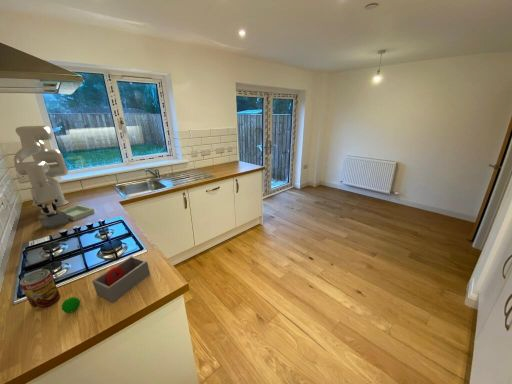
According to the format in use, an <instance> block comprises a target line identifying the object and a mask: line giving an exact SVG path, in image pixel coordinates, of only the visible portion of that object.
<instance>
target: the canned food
mask: <svg viewBox="0 0 512 384" xmlns="http://www.w3.org/2000/svg"><path fill="white" fill-rule="evenodd" d="M19 285H20V287H21V289H22V292H23V293H24V296H25V297H26V299H27V301H28V304H30V307H31V309H32V311H35V312H40V311H44V310H46V309H49V308H51V307H52V306H54V305H55V304H57V303H58V302H59V301H60V300H61V298H62V297H61V293H60V291H59V289H58V287H57V285H56V282H55V280H54V278H53V275H52V273H51V271H50V270H49V269H44V268H43V269H39V270H35V271H33V272H31V273H29V274H27V275H25V276H24V277H22V279H20V280H19Z"/></svg>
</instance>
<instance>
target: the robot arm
mask: <svg viewBox="0 0 512 384" xmlns="http://www.w3.org/2000/svg"><path fill="white" fill-rule="evenodd" d="M15 133H16V134H17V136H18V137H19V140H20V144H21V148H20V149H19V150H18V151H17V152H16V153H15V155H14V157H13V162H14V163H13V165H14V169H15V171H16V173H17V174H18V175H21V176H27V178H28V180H29V183H30V185H31V187H30V195H31V198H32V203H31V206H33V207H39V208H40V207H42V209H43V212H45V213H49V212H48V210H47V207H45V204H44V203H45V202H49V201H52V205H53V208H54V210H55V211H57V209H58V208H60V207H62V206H65V205H67V204H69V200H66V198H65V196H64V195H65V194H64V192H63V190H62V187H61V184H60V182H59V181H58V179H56V178H58V177H63V176H66V175H68V172H69V171H68V168H67V165H66V161H65V159H64V156H63V153H62V152H61V151H60V150H59V149H53V148H52V149H48V148H47V147H46V144H45V142H44V141H50V140H51V139H52V138H53V132H52V129H51V127H50V126H48V125H26V126H24V125H23V126H18V127H16V128H15ZM29 157H32V158H33V161H25V160H26V159H27V158H29ZM52 163H53V164H52ZM55 177H56V178H55ZM39 204H40V205H39Z"/></svg>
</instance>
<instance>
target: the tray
mask: <svg viewBox="0 0 512 384" xmlns="http://www.w3.org/2000/svg"><path fill="white" fill-rule="evenodd" d="M60 211H61V212H64V213H66V215H67V218H68V220H72V221H77V220H79V219H82V218H85V217H87V216H89V215H92V214H95V209H94V208H92V207H88V206H85V205H81V204H78V205H73V206H71V207H68V208H65V209H62V210H60Z"/></svg>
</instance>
